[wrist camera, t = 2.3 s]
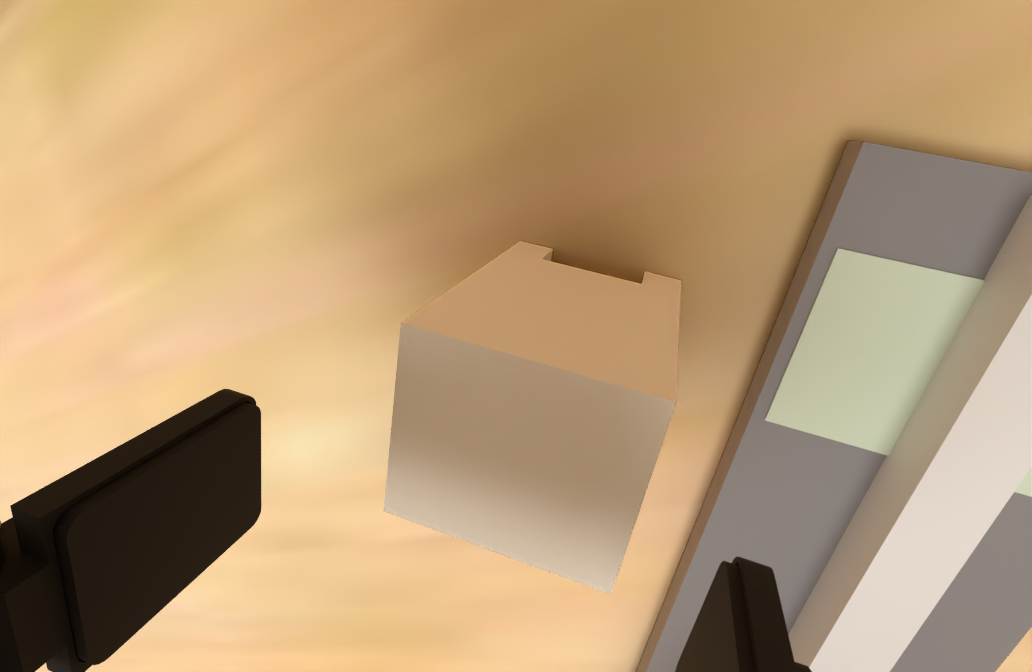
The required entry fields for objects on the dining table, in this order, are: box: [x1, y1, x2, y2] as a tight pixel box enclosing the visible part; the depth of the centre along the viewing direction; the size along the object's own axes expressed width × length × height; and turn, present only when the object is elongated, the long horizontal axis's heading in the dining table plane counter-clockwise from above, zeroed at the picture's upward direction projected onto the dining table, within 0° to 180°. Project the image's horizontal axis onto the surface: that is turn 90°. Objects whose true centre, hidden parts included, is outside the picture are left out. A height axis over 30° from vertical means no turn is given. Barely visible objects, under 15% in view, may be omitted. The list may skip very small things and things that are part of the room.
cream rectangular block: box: [384, 241, 681, 595], centre depth 16 cm, size 6×6×9 cm
